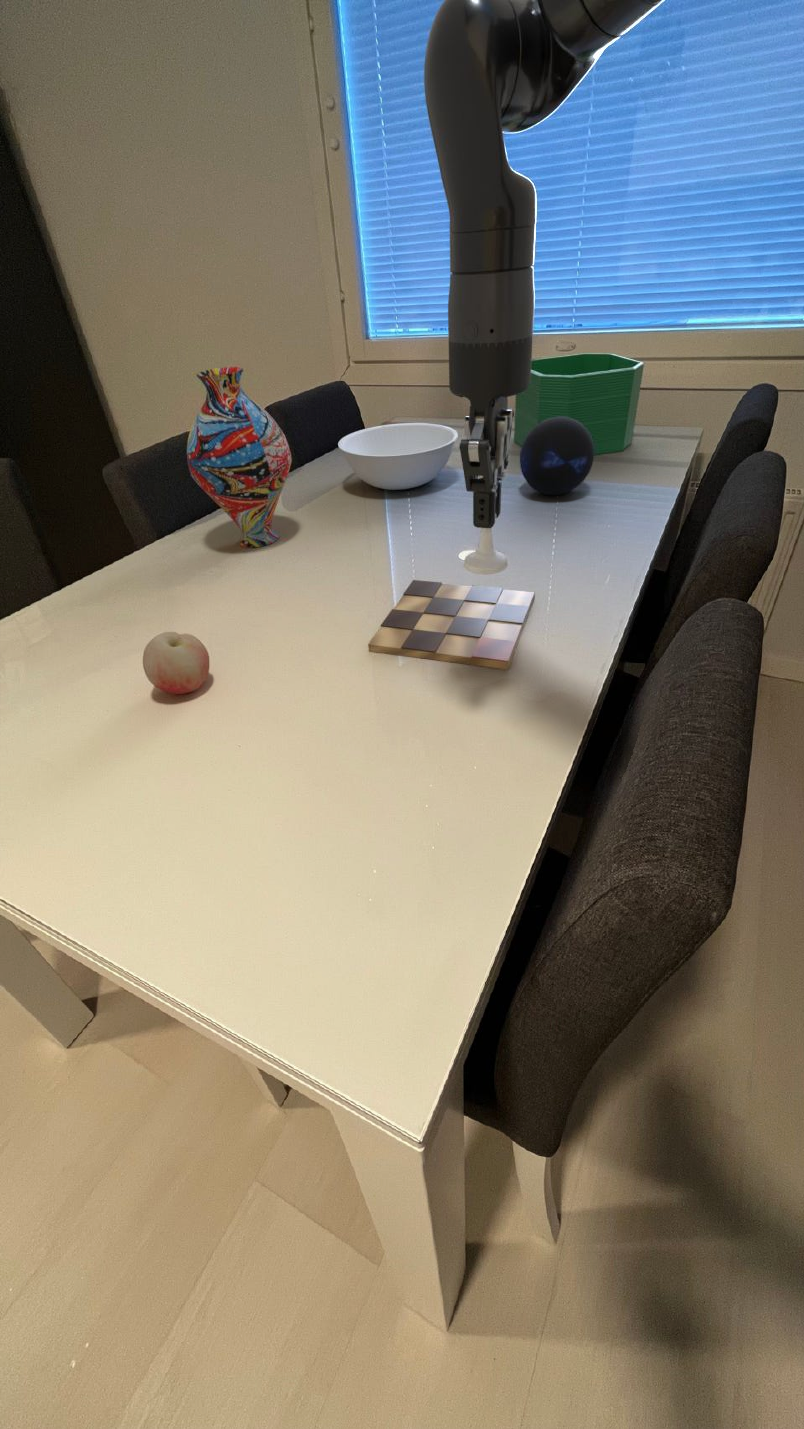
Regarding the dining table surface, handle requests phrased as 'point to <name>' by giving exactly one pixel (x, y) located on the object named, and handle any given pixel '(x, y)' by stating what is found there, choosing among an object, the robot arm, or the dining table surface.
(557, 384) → the planter
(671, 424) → the dining table surface
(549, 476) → the decorative sphere
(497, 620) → the game board
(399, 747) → the dining table surface
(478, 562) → the chess piece
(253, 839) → the dining table surface
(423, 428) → the bowl
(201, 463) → the vase
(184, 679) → the fruit
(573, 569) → the dining table surface
